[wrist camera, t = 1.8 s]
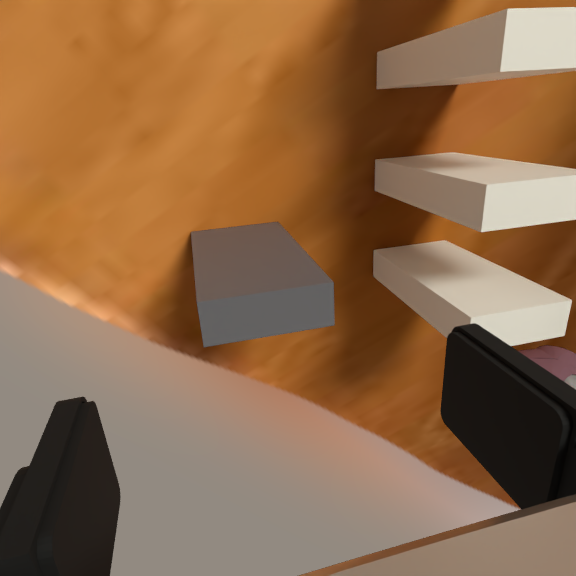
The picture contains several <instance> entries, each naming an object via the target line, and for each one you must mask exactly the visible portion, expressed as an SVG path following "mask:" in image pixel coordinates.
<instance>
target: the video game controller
mask: <svg viewBox="0 0 576 576" xmlns="http://www.w3.org/2000/svg"><path fill="white" fill-rule="evenodd" d="M519 352H520V353H522V354H523V355H525V356H526V357H528V358H529V359H531V360H532V361H534V362H535V363H537V364H538V365H540V366H541V367H543V368H544V369H546V370H547V371H549V372H550V373H552V374H553V375H555V376H556V377H558V378H559V379H561V380H562V381H564V382H565V383H567V384H568V385H570V386H571V387H573V388H574V389H576V354H575V353H573V352H571V351H569V350H567V349H564V348H560V347H556V346H548V345H544V346H540V347H538V348H536V349H530V350H521V351H519Z"/></svg>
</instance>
